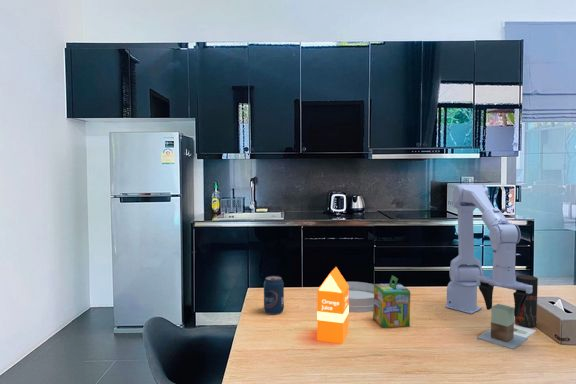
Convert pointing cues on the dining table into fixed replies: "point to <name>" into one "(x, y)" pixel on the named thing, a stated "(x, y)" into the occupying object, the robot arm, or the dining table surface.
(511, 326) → the block walnut
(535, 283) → the deodorant
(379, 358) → the dining table surface
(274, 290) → the soda can
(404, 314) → the chalk box
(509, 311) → the block sage
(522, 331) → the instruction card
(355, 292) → the dish
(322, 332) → the orange juice
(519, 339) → the baseplate
